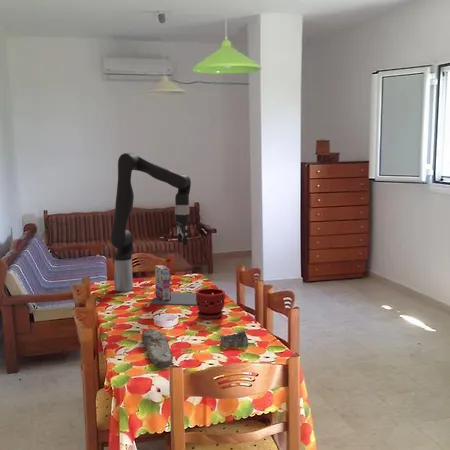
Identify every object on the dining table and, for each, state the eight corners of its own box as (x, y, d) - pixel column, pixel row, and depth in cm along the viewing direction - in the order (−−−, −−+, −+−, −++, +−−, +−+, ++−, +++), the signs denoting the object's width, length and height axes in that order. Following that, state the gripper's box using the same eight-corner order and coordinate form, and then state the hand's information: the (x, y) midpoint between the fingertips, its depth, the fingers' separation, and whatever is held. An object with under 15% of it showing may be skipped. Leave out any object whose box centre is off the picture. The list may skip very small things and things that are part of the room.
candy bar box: (171, 300, 273) (170, 268, 270) (162, 301, 270) (161, 269, 268) (164, 294, 283) (163, 264, 280) (155, 296, 280) (154, 265, 278)
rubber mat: (150, 304, 269) (150, 302, 268) (162, 293, 288) (162, 292, 288) (197, 305, 264) (197, 304, 264) (205, 294, 284) (205, 293, 284)
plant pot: (222, 321, 239) (221, 295, 238) (193, 320, 242) (192, 294, 240) (227, 312, 252) (227, 287, 250) (200, 311, 255) (199, 286, 253)
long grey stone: (150, 374, 189) (177, 371, 191) (150, 360, 188) (178, 358, 190) (138, 336, 222) (162, 334, 224) (138, 324, 221) (162, 322, 224)
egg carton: (246, 340, 216) (246, 330, 216) (249, 347, 209) (248, 337, 208) (219, 341, 215) (219, 331, 215) (221, 348, 208) (221, 338, 207)
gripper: (171, 211, 285) (171, 241, 287) (179, 215, 272) (179, 246, 274) (184, 211, 288) (184, 241, 290) (193, 214, 275) (193, 245, 277)
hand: (182, 243), depth 282 cm, fingers open, 8 cm apart
